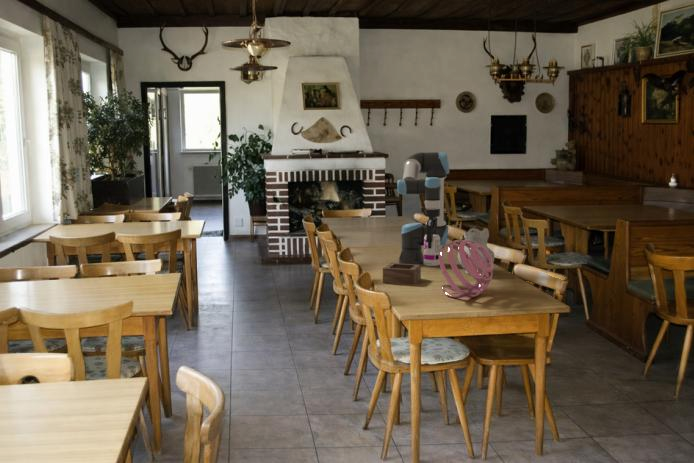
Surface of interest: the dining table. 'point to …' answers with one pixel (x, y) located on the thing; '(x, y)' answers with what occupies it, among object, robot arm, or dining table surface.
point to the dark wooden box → (402, 273)
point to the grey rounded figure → (480, 239)
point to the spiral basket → (467, 268)
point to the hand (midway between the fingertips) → (431, 253)
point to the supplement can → (433, 259)
